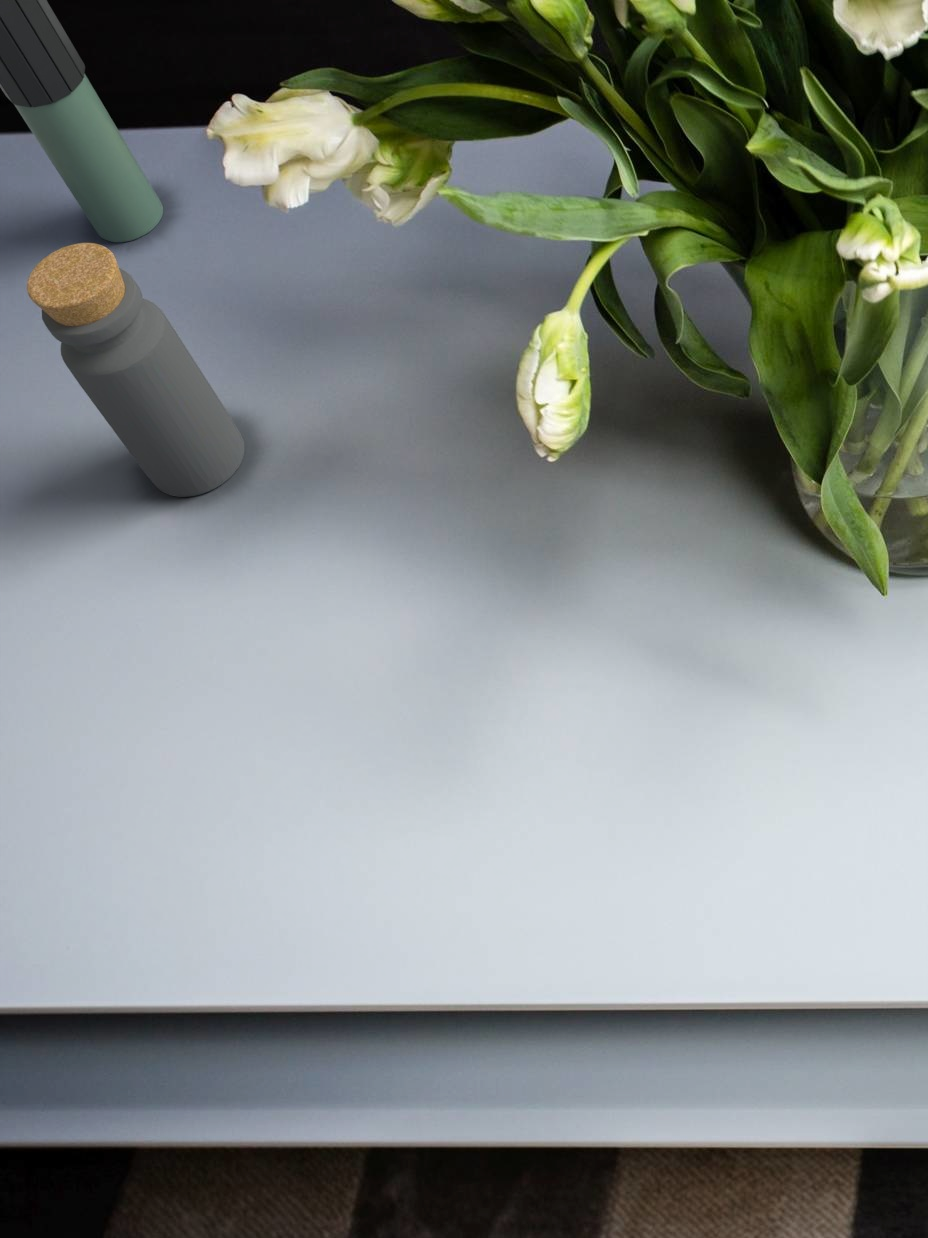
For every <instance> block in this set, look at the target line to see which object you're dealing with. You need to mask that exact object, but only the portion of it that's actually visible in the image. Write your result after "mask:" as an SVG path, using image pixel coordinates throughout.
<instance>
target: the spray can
mask: <svg viewBox="0 0 928 1238" xmlns="http://www.w3.org/2000/svg"><path fill="white" fill-rule="evenodd" d="M13 105H14V107H15V108H16V110H17V112H18V113H19V114H20V116H21V117H22V119H23V121H24V122H25V124H26V125H27V127H28V129H29V130H30V132H31V133H32V134H33V136H34V138H35V139H36V141H37V142H38V143H39V145H40V147H41V148H42V150H43V151H44V153H45V154H46V156H47V157H48V159H49V161H50V163H52V166H53V167H54V169H55V170H56V171H57V173H58V174H59V177H60V178H61V179H62V181H63V182H64V184H65V185H66V187H67V188H68V190H69V192H70V193H71V195H72V196H73V197H74V199H75V201H76V203H77V204H78V206H79V207H80V209H81V210H82V212H83V213H84V215H85V216H86V218H87V219H88V221H89V222H90V224H91V225H92V227H93V228H94V230H95V231H96V233H97V234H98V236H99V237H100V238H102V239H103V240H105V241H108V242H111V243H127V242H130V241H134V240H137V239H139V238H142V237H144V236H145V235H147V234H148V233H150V232H151V231H153V230H154V229H155V227H157V226H158V224H159V223H160V222H161V220H162V218H163V215H164V206H163V203H162V202H161V199H160V198H159V196H158V195H157V192H156V191H155V189H154V188H153V186H152V185H151V183H150V181H149V180H148V178H147V176H146V174H145V173H144V171H143V169H142V168H141V166H140V164H139V163H138V161H137V159H136V158H135V156H134V154H133V152H132V151H131V149H130V147H129V146H128V143H127V142H126V140H125V139H124V137H123V136H122V133H121V132H120V130H119V129H118V127H117V126H116V124H115V122H114V120H113V118H111V116H110V114H109V112H108V110H107V109H106V107H105V106H104V104H103V102H102V100H101V99H100V97H99V95H98V93H97V91H96V89H94V86H93V85H92V83H91V81H90V80H89V78H88V76H87V75H86V72H85V73H84V78H83V81H82V82H81V83H80V84H79V85H78V87H77V88H76V89H75V90H74V91H73V92H71V94H69V95H67V96H66V97H64V98H62V99H60V100H58V101H57V102H55V103H54V102H53V101H52V104H48V105H44V106H39V107H34V108H33V107H31V108H29V107H23V106H17V105H15V104H13Z"/></svg>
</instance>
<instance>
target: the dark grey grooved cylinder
mask: <svg viewBox="0 0 928 1238" xmlns="http://www.w3.org/2000/svg"><path fill="white" fill-rule="evenodd" d="M84 73H85V74H86V66H85V63H84V61H83V59H82V57H81V56H80V55H79V52H78V51H77V49H76V48H75V46H74V44H73V42H72V41H71V39H70V38H69V36H68V34H67V33H66V30H65V29H64V28H63V26H62V23H61V22H60V21H59V19H58V17H57V15H56V14H55V12H54V10H53V9H52V7H51V6H50V4H49V2H48V0H0V89H1V91H2V92H3V94H4V95H5V97H6V98H7V99H8V100H9V101H10V102H11V103H12V104H13V105H14V104H15V105H17V106H23V107H29V108H31V107H33V108H34V107H39V106H44V105H48V104H52V101H53V102H54V103H55V102H57V101H58V100H60V99H62V98H64V97H66V96H67V95H69V94H71V92H73V91H74V90H75V89H76V88H77V87H78V85H79V84H80V83H81V82H82V81H83V78H84ZM15 105H14V106H15Z"/></svg>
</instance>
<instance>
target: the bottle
mask: <svg viewBox="0 0 928 1238" xmlns="http://www.w3.org/2000/svg"><path fill="white" fill-rule="evenodd" d="M117 261H118V260H117V259H116V257H115V255H114V253H113V252H112V250H110V249H109V248H108V247H106V246H104V245H101V244H98V243H94V242H80V243H73V244H70V245H67V246H63V247H61V248H59V249H57V250H55V251H52V252H50V253H49V254H48V255H47V256H45V257H44V258H43V259H41V260H40V261H39V262H38V263H37V264H36V265H35V266H34V268H33V269H32V270H31V272H30V275H29V276H28V279H27V282H26V292H27V295H28V297H29V298H30V300H31V301H32V303H34V304H35V305H36V306H37V307H39V308H40V309H41V319H42V322H43V324H44V326H45V327H46V329H47V330H48V332H49V333H50V334H51V335H52V337H54V338H55V340H57V341H59V342H60V356H61V358H62V360H63V363H64V364H65V366H66V367H67V369H68V370H69V372H70V373H71V374H72V376H73V377H74V379H75V380H76V382H77V383H78V385H79V386H80V387H81V388H82V390H83V391H84V393H85V394H86V395H87V397H88V398H89V399H90V401H91V402H92V403H93V405H94V406H95V408H96V409H97V410H98V411H99V413H100V414H101V416H102V417H103V418H104V420H105V421H106V422H107V424H108V425H109V427H110V428H111V429H112V431H113V432H114V433H115V435H116V436H117V437H118V438H119V440H120V441H121V443H122V444H123V445H124V447H125V449H126V450H127V451H128V452H129V454H130V455H131V456H132V458H133V459H134V460H135V462H136V463H137V464H138V466H139V467H140V469H141V470H142V471H143V472H144V474H145V475H146V476H147V477H148V479H149V480H150V481H151V483H152V484H153V485H154V486H155V487H156V489H158V490H159V491H160V492H162V493H164V494H167V495H168V496H173V497H180V498H185V497H186V498H187V497H196V496H199V495H203V494H206V493H208V492H211V491H213V490H215V489H216V488H218V487H220V486H222V485H223V484H225V482H227V481H228V480H229V479H231V477H232V476H233V475H234V474H235V473H236V471H237V470H238V469H239V468H240V466H241V464H242V462H243V459H244V456H245V449H246V447H245V441H244V438H243V436H242V434H241V432H240V430H239V428H238V427H237V425H236V423H235V422H234V420H233V419H232V417H231V415H230V414H229V412H228V411H227V409H226V408H225V406H224V404H223V403H222V401H221V399H220V398H219V396H218V395H217V393H216V392H215V390H214V389H213V387H212V385H211V384H210V382H209V381H208V380H207V378H206V376H205V375H204V373H203V372H202V370H201V368H200V367H199V365H198V364H197V362H196V361H195V359H194V358H193V356H192V354H191V353H190V351H189V350H188V349H187V347H186V345H185V343H184V342H183V340H182V339H181V337H180V336H179V334H178V333H177V331H176V330H175V327H174V326H173V325H172V323H171V322H170V321H169V319H168V317H167V315H165V313H164V312H163V310H162V309H161V308H160V307H159V306H158V305H157V304H156V303H154V302H153V301H152V300H149V299H147V298H143V293H142V290H141V287H140V286H139V285H138V283H137V282H136V280H135V279H134V278H133V276H132V274H130V273H128V272H127V271H126V270H125V269H122V268H121V267H119V264H118V262H117Z"/></svg>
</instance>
